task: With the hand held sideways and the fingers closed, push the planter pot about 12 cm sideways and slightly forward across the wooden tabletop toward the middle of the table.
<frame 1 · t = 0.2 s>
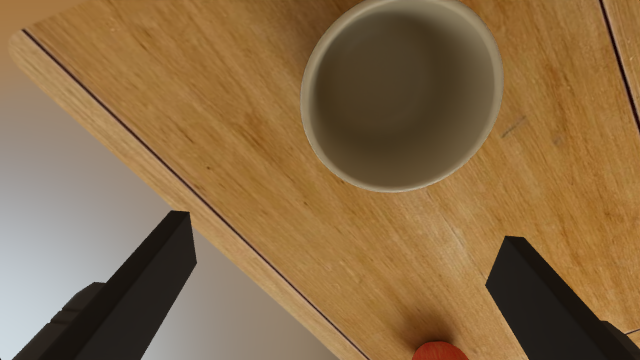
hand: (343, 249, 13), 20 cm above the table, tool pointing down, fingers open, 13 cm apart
planter: (376, 79, 29), on the table
apple: (434, 347, 45), on the table
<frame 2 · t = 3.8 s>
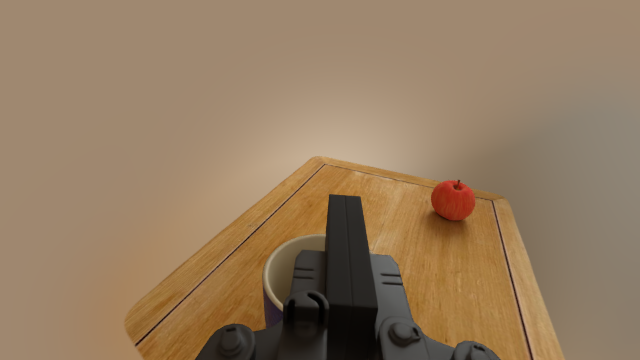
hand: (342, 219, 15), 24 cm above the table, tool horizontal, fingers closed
planter: (318, 344, 35), on the table
apple: (447, 216, 62), on the table
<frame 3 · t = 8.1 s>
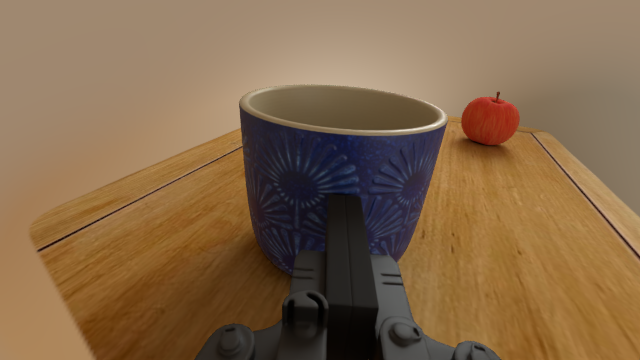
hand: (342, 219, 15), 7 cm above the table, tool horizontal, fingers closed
planter: (328, 246, 24), on the table, touching gripper
apple: (482, 142, 50), on the table
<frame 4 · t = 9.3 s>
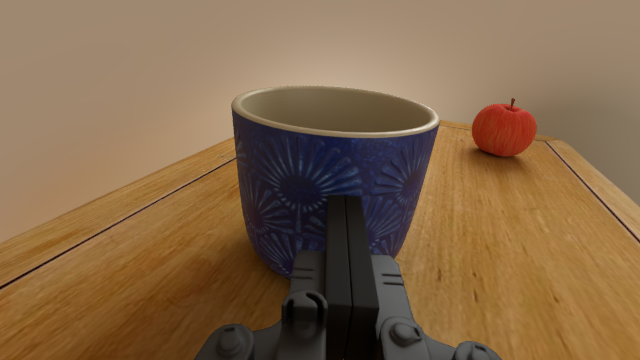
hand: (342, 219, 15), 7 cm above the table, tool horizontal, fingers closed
planter: (323, 247, 24), on the table, touching gripper
apple: (494, 153, 46), on the table
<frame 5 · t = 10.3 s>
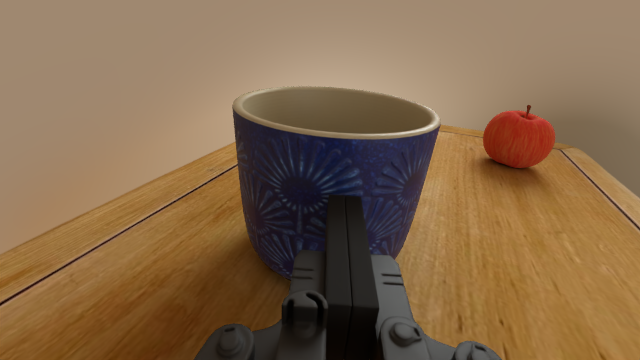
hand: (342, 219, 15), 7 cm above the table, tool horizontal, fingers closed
planter: (323, 247, 24), on the table, touching gripper
apple: (507, 164, 43), on the table
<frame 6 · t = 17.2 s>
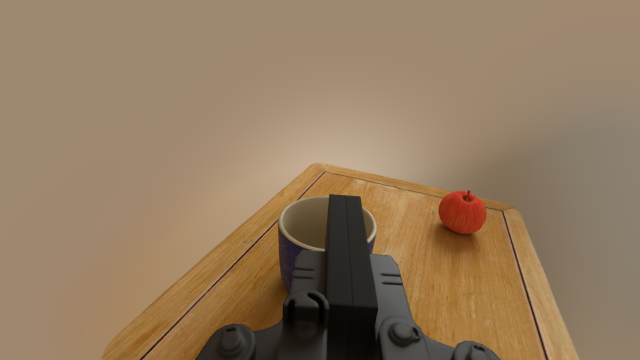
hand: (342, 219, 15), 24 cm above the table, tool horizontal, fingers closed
planter: (321, 285, 43), on the table
apple: (456, 228, 59), on the table
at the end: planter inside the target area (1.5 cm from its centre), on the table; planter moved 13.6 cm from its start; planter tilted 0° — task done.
